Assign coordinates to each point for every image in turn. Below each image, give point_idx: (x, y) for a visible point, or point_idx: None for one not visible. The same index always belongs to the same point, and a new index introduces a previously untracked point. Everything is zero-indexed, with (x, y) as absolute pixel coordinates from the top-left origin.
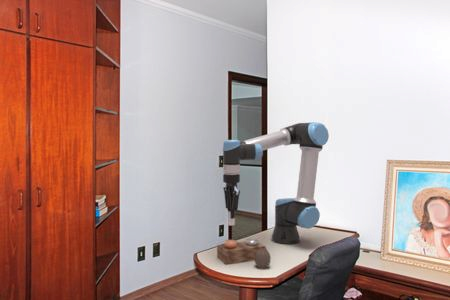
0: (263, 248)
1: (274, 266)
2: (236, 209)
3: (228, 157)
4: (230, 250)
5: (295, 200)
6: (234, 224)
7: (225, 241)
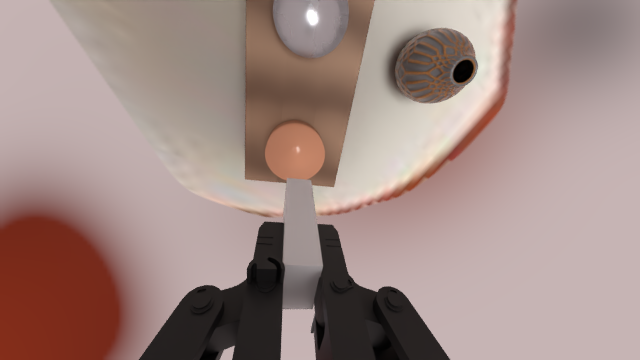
0: (472, 78)
1: (446, 17)
2: (403, 308)
3: None
4: (333, 168)
5: None
6: (311, 184)
7: (284, 175)
